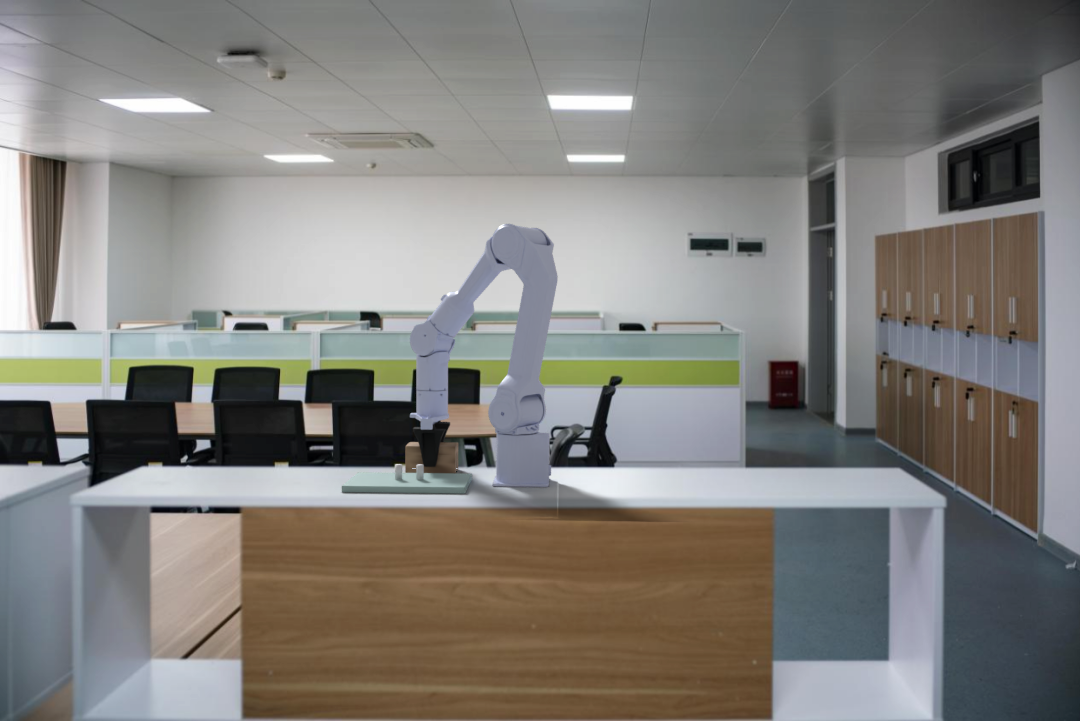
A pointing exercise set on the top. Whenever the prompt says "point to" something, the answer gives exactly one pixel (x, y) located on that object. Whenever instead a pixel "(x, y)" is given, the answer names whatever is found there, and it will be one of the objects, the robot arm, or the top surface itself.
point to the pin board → (408, 482)
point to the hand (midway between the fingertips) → (432, 463)
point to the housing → (445, 460)
